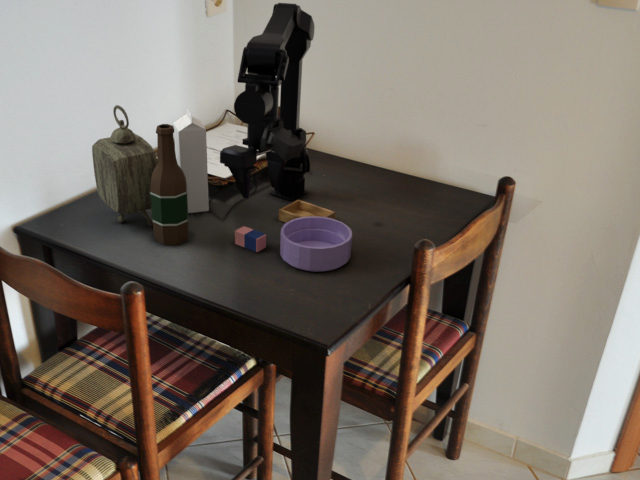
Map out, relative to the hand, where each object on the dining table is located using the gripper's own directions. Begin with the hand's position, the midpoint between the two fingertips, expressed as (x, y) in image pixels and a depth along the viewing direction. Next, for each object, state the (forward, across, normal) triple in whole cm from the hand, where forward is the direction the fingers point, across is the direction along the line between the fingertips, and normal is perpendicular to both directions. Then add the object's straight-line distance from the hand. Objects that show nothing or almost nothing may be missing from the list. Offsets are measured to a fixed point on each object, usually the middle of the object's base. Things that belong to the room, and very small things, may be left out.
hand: (260, 192), depth 150 cm
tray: (+11, +17, 0) cm, 20 cm away
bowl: (+12, +5, -11) cm, 17 cm away
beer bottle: (+12, -7, +18) cm, 23 cm away
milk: (+11, +7, +24) cm, 27 cm away
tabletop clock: (+12, -7, +31) cm, 34 cm away
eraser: (+12, 0, +2) cm, 12 cm away
